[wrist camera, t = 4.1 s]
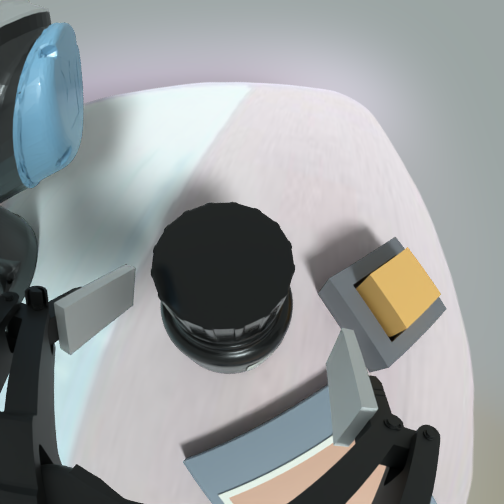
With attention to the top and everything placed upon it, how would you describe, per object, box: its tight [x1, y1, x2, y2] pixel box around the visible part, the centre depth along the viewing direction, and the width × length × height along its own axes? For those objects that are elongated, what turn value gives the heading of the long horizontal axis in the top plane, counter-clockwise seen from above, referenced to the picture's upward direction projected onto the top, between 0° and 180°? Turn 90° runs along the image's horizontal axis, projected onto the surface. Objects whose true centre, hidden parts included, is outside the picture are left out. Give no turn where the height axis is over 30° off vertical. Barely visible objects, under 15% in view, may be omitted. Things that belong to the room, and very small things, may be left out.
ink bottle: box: [151, 202, 295, 374], centre depth 18 cm, size 10×9×12 cm
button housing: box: [318, 237, 446, 372], centre depth 23 cm, size 9×9×4 cm
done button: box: [356, 247, 441, 337], centre depth 21 cm, size 5×5×4 cm
